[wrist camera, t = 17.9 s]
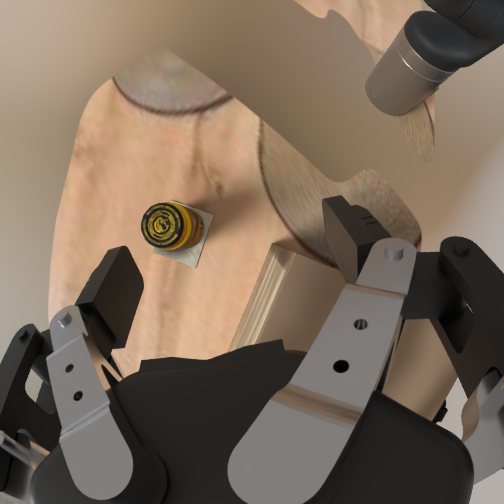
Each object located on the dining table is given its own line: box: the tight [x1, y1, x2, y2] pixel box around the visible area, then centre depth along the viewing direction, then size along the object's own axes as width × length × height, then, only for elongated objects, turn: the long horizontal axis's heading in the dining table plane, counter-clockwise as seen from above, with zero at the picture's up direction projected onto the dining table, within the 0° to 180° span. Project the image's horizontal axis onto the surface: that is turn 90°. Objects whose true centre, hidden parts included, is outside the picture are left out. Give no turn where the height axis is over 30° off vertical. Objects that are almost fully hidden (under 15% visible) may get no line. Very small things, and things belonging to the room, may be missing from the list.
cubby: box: [227, 243, 458, 421], centre depth 31 cm, size 15×22×28 cm
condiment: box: [141, 200, 213, 268], centre depth 38 cm, size 7×8×12 cm
